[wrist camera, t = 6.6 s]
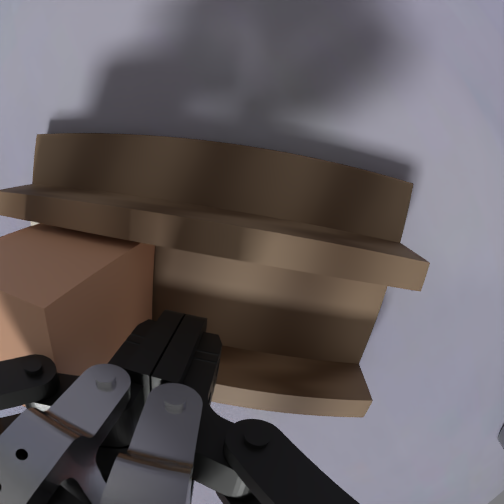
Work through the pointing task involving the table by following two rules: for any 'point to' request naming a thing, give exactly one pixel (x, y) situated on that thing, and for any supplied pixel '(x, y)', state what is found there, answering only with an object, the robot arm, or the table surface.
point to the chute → (243, 252)
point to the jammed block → (71, 295)
